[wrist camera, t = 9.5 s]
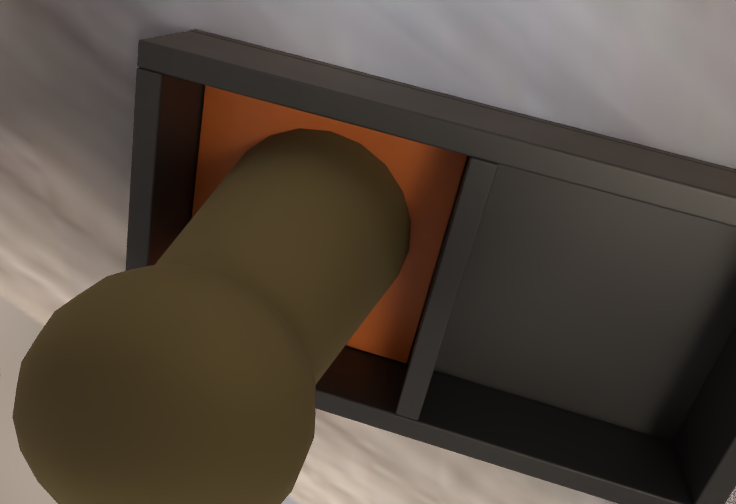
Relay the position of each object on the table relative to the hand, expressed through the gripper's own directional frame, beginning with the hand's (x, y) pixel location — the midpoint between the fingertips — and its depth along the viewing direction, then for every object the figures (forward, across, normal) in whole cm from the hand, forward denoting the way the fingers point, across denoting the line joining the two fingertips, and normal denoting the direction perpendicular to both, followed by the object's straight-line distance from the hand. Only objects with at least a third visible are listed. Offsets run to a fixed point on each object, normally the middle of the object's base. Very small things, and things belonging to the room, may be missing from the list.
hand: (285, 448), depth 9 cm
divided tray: (+12, -2, +2) cm, 12 cm away
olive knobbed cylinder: (+11, +3, +2) cm, 12 cm away
